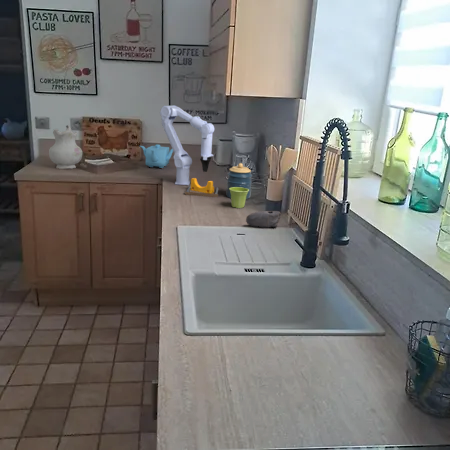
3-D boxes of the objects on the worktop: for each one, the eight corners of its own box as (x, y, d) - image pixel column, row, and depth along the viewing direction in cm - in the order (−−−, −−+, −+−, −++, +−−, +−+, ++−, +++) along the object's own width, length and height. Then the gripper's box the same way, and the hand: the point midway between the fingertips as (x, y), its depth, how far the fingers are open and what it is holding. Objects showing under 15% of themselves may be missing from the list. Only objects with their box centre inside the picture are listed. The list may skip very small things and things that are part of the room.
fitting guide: (188, 188, 256) (188, 185, 255) (219, 190, 255) (219, 187, 255) (185, 194, 241) (185, 192, 240) (217, 197, 241) (218, 194, 240)
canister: (231, 200, 237) (233, 165, 231) (222, 193, 248) (224, 161, 243) (254, 199, 241) (257, 165, 236) (244, 193, 253) (247, 160, 248)
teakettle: (162, 163, 319) (162, 142, 314) (177, 168, 305) (177, 146, 300) (137, 165, 308) (137, 143, 303) (151, 170, 294) (151, 147, 289)
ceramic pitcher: (51, 165, 296) (46, 125, 287) (83, 163, 301) (79, 123, 293) (50, 172, 276) (44, 130, 268) (84, 169, 282) (79, 128, 273)
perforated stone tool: (246, 228, 195) (247, 212, 193) (244, 224, 200) (245, 208, 198) (281, 229, 196) (283, 213, 194) (279, 225, 201) (280, 210, 199)
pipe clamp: (214, 192, 250) (214, 180, 248) (210, 194, 247) (210, 182, 245) (194, 189, 255) (195, 177, 253) (190, 190, 251) (191, 178, 250)
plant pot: (225, 204, 228) (226, 187, 226) (243, 203, 232) (244, 186, 229) (232, 209, 220) (233, 191, 217) (250, 208, 223) (252, 191, 221)
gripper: (213, 148, 245) (211, 173, 250) (214, 144, 259) (213, 168, 263) (199, 147, 245) (198, 173, 250) (202, 143, 259) (200, 168, 263)
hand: (205, 170), depth 256 cm, fingers open, 3 cm apart
